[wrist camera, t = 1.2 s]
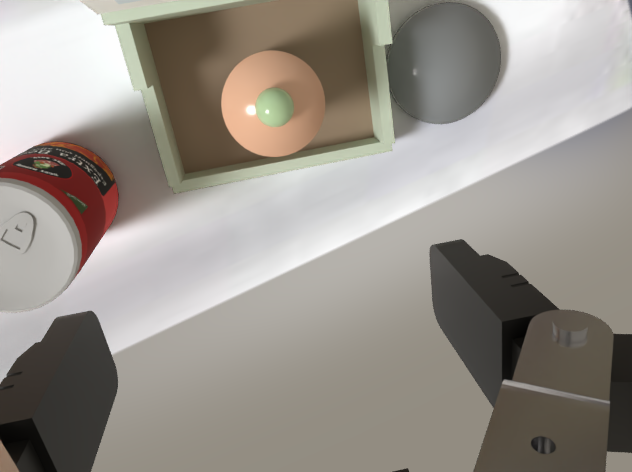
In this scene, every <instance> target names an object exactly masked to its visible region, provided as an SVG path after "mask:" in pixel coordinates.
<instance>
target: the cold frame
mask: <svg viewBox="0 0 632 472" xmlns="http://www.w3.org/2000/svg"><path fill="white" fill-rule="evenodd" d="M101 16H102V20H103V23H104V25H115V27H116V31H117V34H118V38H119V41H120V44H121V48H122V51H123V55H124V58H125V61H126V65H127V68H128V72H129V75H130V78H131V82H132V85H133V89H134V91H137V90H141V92H142V95H143V99H144V102H145V106H146V109H147V113H148V116H149V120H150V123H151V126H152V130H153V133H154V137H155V140H156V144H157V147H158V151H159V154H160V158H161V161H162V165H163V168H164V171H165V175H166V178H167V182H168V185H169V187H172V189H173V192H174V194H176V193H181V192H186V191H191V190H196V189H201V188H206V187H211V186H216V185H221V184H226V183H232V182H237V181H242V180H247V179H252V178H257V177H262V176H267V175H272V174H277V173H282V172H287V171H292V170H298V169H303V168H308V167H313V166H318V165H323V164H328V163H333V162H338V161H343V160H348V159H353V158H359V157H364V156H369V155H374V154H379V153H384V152H389V151H392V143H395V138H394V129H393V119H392V110H391V101H390V91H389V82H388V72H387V63H386V53H385V45H387V44H393V43H392V33H391V23H390V13H389V3H388V0H177V1H172V2H166V3H160V4H154V5H149V6H143V7H137V8H132V9H126V10H120V11H114V12H109V13H103V14H101ZM266 50H278V51H284V52H287V53H290V54H292V55H294V56H296V57H298V58H300V59H301V60H303V61H304V62H305V63H306V64H308V65H309V66H310V67H311V68H312V70H313V71H314V72H315V74H316V75H317V76H318V78H319V80H320V82H321V85H322V87H323V91H324V95H325V114H324V118H323V122H322V124H321V127H320V129H319V131H318V132H317V134H316V135H315V137H314V138H313V139H312V140H311V141H310V142H309V143H308V144H307V145H306V146H305V147H303V148H302V149H300V150H299V151H297V152H295V153H292V154H290V155H286V156H280V157H268V156H262V155H258V154H256V153H253V152H251V151H249V150H247V149H246V148H244V147H243V146H242V145H240V144H239V143H238V142H237V141H236V140H235V139H234V137H233V136H232V135H231V133H230V132H229V130H228V128H227V126H226V124H225V121H224V118H223V114H222V107H221V100H222V92H223V88H224V85H225V82H226V80H227V78H228V76H229V74H230V72H231V71H232V70H233V68H234V67H235V66H236V65H237V64H238V63H239V62H240V61H242V60H243V59H244V58H246V57H248V56H249V55H252V54H254V53H256V52H260V51H266Z"/></svg>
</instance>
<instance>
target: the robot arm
mask: <svg viewBox="0 0 632 472" xmlns="http://www.w3.org/2000/svg"><path fill="white" fill-rule="evenodd" d="M430 270H431V285H432V301H433V307H434V312H435V316H436V319H437V322H438V324H439V326H440V328H441V329H442V331H443V332H444V334H445V335H446V337H447V338H448V340H449V341H450V343H451V344H452V346H453V347H454V349H455V350H456V352H457V353H458V355H459V356H460V358H461V359H462V361H463V362H464V364H465V365H466V367H467V368H468V370H469V372H470V373H471V375H472V376H473V378H474V379H475V381H476V382H477V384H478V385H479V387H480V388H481V390H482V391H483V393H484V394H485V396H486V397H487V399H488V400H489V402H490V403H491V405H492V406H493V408H494V410H493V412H492V416H491V418H490V422H489V425H488V428H487V431H486V434H485V437H484V440H483V443H482V446H481V449H480V452H479V455H478V458H477V461H476V465H475V468H474V471H473V472H605V471H606V456H607V451H610V452H628V453H630V452H631V453H632V334H613V332H612V329H611V328H610V327H609V326H608V325H607V324H606V323H605V322H604V321H602V320H601V319H599V318H597V317H595V316H593V315H590V314H588V313H584V312H579V311H575V310H560V309H558V308H557V307H556V306H555V305H554V304H553V303H552V302H551V301H550V300H548V299H547V298H546V297H545V296H544V295H543V294H542V293H541V292H539V291H538V290H537V289H536V288H535V287H534V286H533V285H531V284H529V283H528V281H527V280H526V279H525V278H524V277H523V276H522V275H519V273H518V272H517V271H516V270H515V269H514V268H513V267H512V266H510V265H509V264H508V263H507V262H505V261H503V260H500V259H498V258H495V257H493V256H491V255H482V256H480V255H479V254H478V253H477V252H476V251H474V250H473V249H472V248H471V247H470V246H469V245H468V244H467V243H466V242H465V241H464V240H462V239H460V240H455V241H450V242H446V243H440V244H435V245H432V246H431V247H430ZM117 388H118V377H117V370H116V366H115V363H114V361H113V358H112V355H111V352H110V350H109V347H108V344H107V342H106V339H105V336H104V333H103V331H102V328H101V325H100V323H99V320H98V318H97V316H96V315H95V313H94V312H92V311H87V312H82V313H76V314H71V315H66V316H61V317H57V318H56V319H55V320H54V321H53V323H52V325H51V326H50V328H49V330H48V331H47V333H46V334H45V336H44V338H43V339H42V341H41V342H38V343H35V344H34V345H33V346H31V347H30V348H29V349H28V350H27V351H25V352H24V353H23V354H22V355H21V356H20V357H18V358H17V359H16V361H15V363H14V364H13V366H12V367H11V369H10V370H9V372H8V373H7V377H6V378H4V379H3V381H2V382H1V384H0V472H91V469H92V466H93V463H94V460H95V457H96V454H97V451H98V448H99V445H100V442H101V439H102V436H103V433H104V430H105V427H106V424H107V421H108V417H109V415H110V411H111V408H112V405H113V402H114V399H115V396H116V393H117ZM394 472H409V470H408V469H403V470H398V471H394Z"/></svg>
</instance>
